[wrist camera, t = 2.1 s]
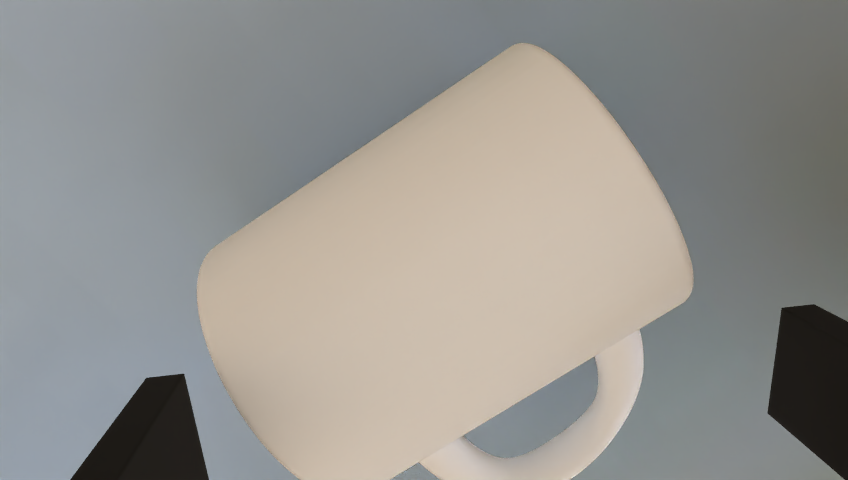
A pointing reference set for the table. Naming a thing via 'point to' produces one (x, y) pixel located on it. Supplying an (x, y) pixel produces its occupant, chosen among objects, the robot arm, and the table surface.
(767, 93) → the table surface
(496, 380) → the mug
